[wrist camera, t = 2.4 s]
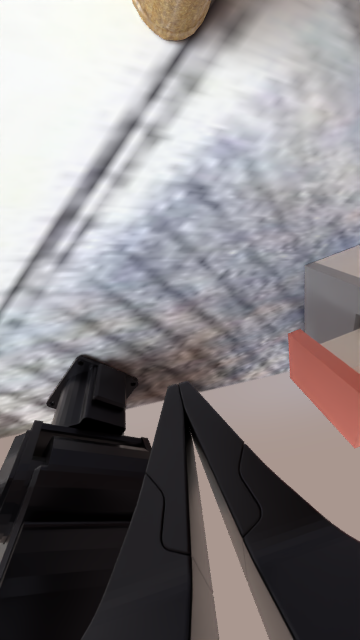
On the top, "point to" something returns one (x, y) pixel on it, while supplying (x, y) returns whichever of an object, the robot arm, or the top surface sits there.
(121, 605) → the robot arm
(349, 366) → the button
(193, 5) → the sprinkles bottle
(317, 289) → the box
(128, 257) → the top surface
